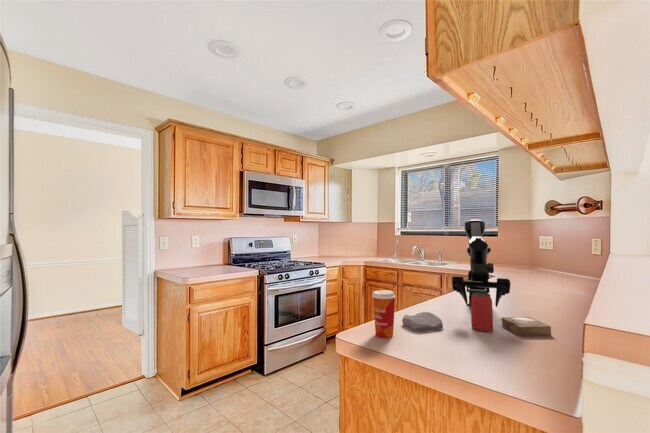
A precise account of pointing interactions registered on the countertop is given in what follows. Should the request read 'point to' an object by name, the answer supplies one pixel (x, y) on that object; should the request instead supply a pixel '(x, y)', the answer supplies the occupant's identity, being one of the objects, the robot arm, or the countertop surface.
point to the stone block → (422, 322)
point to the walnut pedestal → (526, 326)
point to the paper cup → (384, 313)
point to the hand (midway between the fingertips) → (481, 304)
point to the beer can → (481, 312)
